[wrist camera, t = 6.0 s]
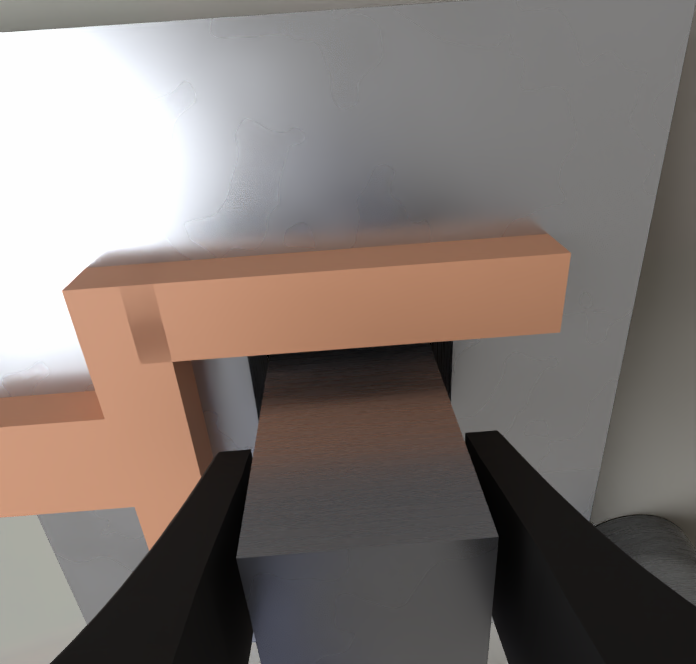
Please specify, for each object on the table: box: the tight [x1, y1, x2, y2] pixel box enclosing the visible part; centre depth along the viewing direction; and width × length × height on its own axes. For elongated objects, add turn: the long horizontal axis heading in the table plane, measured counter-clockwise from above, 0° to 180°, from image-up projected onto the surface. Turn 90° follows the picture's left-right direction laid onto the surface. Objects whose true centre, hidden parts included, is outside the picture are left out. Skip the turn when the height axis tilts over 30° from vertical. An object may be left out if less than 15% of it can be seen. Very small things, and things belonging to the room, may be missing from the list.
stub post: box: [596, 515, 696, 606], centre depth 16 cm, size 4×4×6 cm
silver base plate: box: [0, 0, 696, 642], centre depth 14 cm, size 16×14×2 cm
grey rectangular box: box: [236, 342, 499, 664], centre depth 11 cm, size 3×3×8 cm
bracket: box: [0, 234, 571, 551], centre depth 12 cm, size 8×12×1 cm, turn 94°
